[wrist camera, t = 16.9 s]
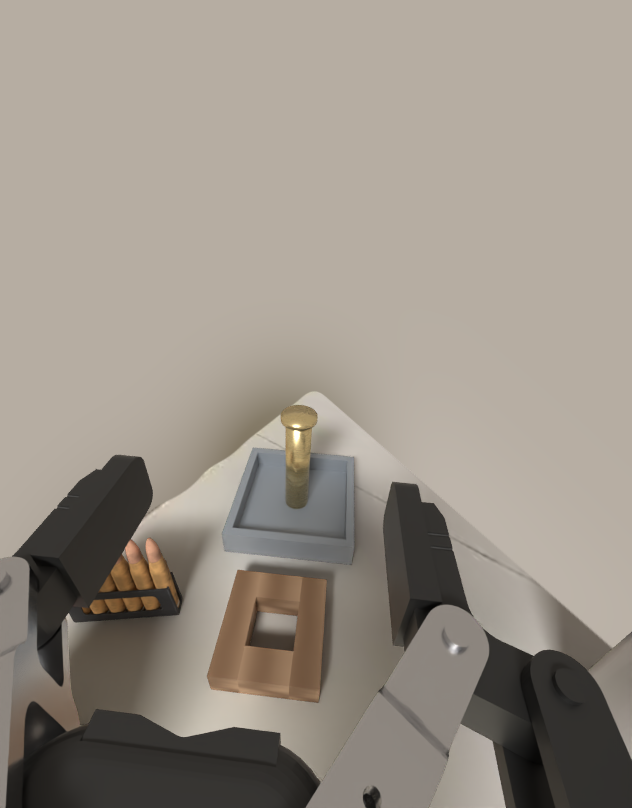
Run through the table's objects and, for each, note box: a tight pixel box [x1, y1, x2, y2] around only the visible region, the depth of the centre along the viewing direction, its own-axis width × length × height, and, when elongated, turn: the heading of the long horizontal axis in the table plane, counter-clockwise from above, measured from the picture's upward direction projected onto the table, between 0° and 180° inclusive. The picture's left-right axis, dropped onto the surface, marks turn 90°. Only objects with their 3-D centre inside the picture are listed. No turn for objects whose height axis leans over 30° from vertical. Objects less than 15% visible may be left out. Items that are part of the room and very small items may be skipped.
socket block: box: [207, 570, 327, 703], centre depth 36 cm, size 10×10×3 cm
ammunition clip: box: [69, 538, 182, 622], centre depth 35 cm, size 11×2×12 cm, turn 95°
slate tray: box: [222, 448, 354, 565], centre depth 50 cm, size 16×16×4 cm
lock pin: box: [281, 405, 317, 509], centre depth 47 cm, size 4×4×15 cm
